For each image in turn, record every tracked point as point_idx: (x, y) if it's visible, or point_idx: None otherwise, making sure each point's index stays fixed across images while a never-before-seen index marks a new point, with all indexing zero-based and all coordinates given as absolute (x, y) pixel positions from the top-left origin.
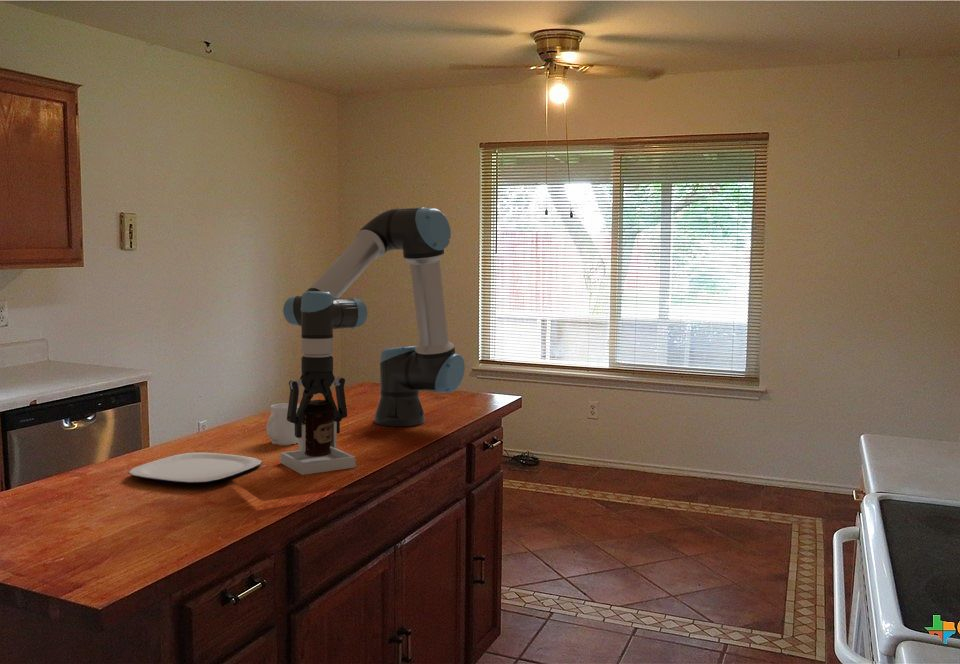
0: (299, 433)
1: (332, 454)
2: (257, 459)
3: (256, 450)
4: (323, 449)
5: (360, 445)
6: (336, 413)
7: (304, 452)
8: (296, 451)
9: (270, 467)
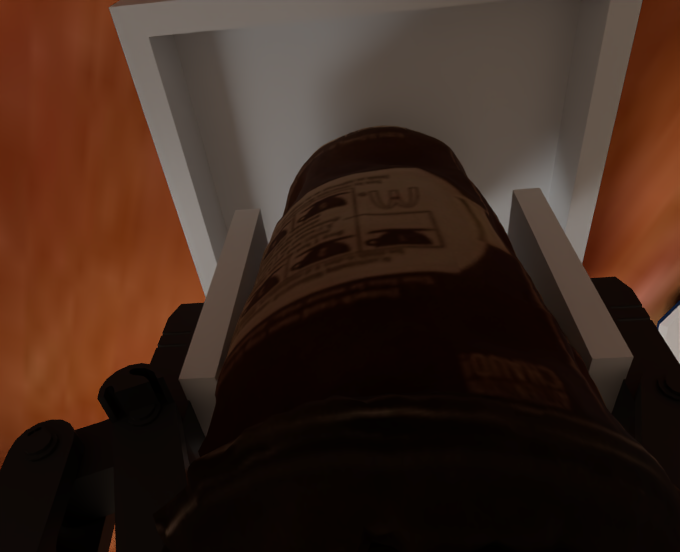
0: (610, 307)
1: None
2: (669, 345)
3: None
4: (369, 161)
5: None
6: (149, 471)
7: None
8: None
9: (647, 244)
